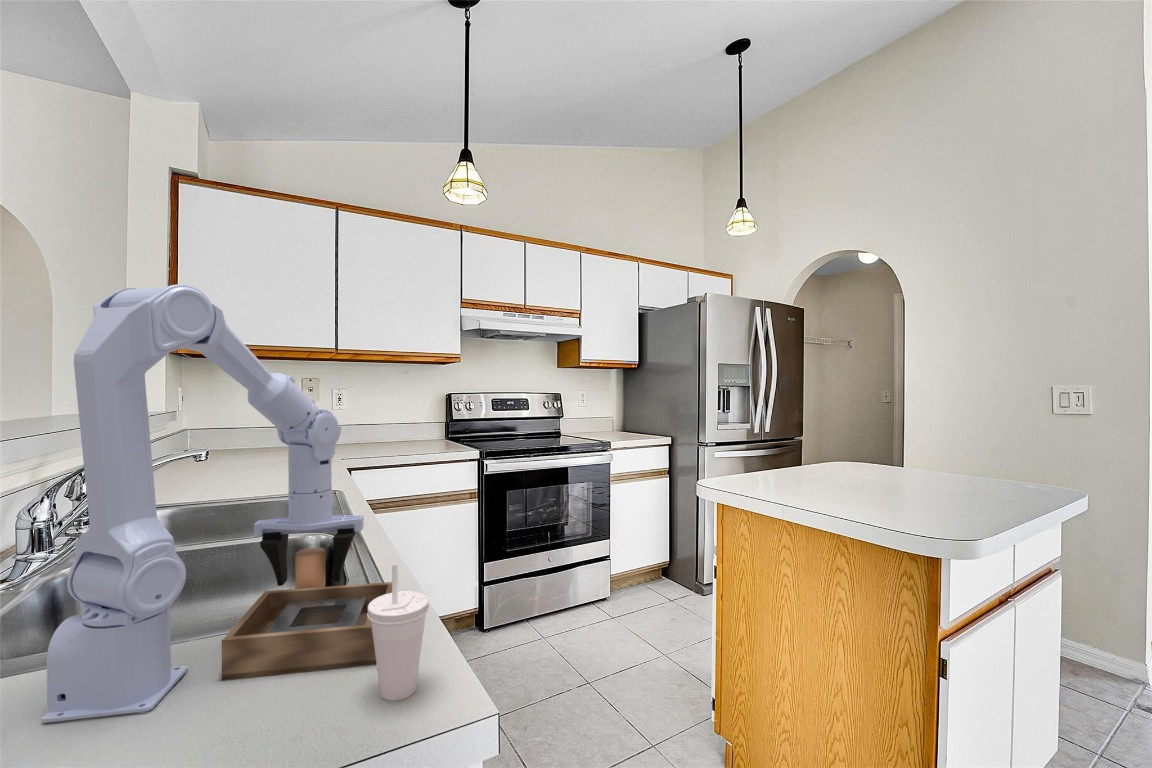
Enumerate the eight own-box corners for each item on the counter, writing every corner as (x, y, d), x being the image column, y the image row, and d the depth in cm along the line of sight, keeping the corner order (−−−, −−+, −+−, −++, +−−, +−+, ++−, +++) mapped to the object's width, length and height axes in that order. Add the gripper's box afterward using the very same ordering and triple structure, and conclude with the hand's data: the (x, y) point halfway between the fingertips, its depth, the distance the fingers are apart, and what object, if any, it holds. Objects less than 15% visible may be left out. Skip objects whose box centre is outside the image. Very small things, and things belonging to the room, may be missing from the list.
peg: (291, 612, 77) (291, 557, 77) (299, 601, 81) (299, 548, 81) (321, 610, 78) (321, 555, 78) (328, 599, 82) (328, 547, 82)
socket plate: (262, 662, 63) (262, 637, 63) (288, 623, 73) (288, 602, 73) (353, 653, 65) (353, 629, 65) (366, 616, 75) (367, 596, 75)
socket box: (221, 680, 60) (221, 640, 60) (265, 623, 74) (265, 591, 74) (381, 663, 64) (381, 626, 64) (394, 612, 77) (395, 581, 77)
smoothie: (353, 697, 57) (353, 566, 57) (399, 668, 63) (399, 549, 63) (397, 715, 54) (397, 577, 54) (441, 683, 60) (441, 558, 60)
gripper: (366, 482, 85) (366, 567, 85) (265, 486, 82) (266, 574, 82) (358, 492, 78) (359, 585, 78) (248, 496, 75) (248, 593, 75)
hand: (310, 581), depth 80 cm, fingers open, 7 cm apart
